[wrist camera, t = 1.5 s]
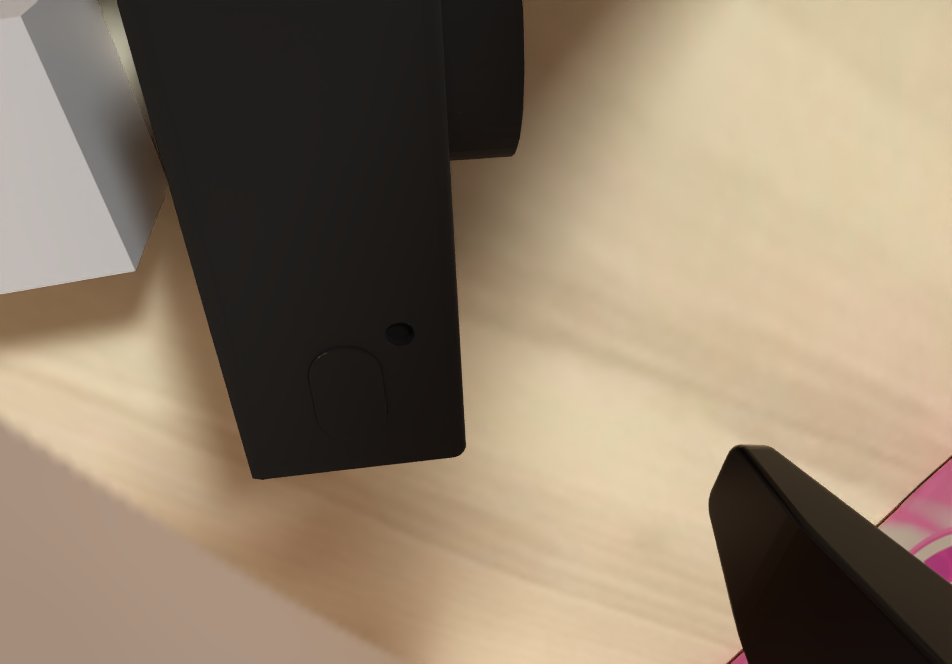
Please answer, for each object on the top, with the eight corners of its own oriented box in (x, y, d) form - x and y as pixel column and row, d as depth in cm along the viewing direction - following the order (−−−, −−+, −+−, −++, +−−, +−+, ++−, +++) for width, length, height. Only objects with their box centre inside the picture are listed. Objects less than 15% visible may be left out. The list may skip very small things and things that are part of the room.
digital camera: (480, 273, 22) (525, 457, 16) (276, 293, 22) (252, 489, 16) (464, -178, 16) (528, -127, 10) (179, -163, 15) (83, -101, 10)
